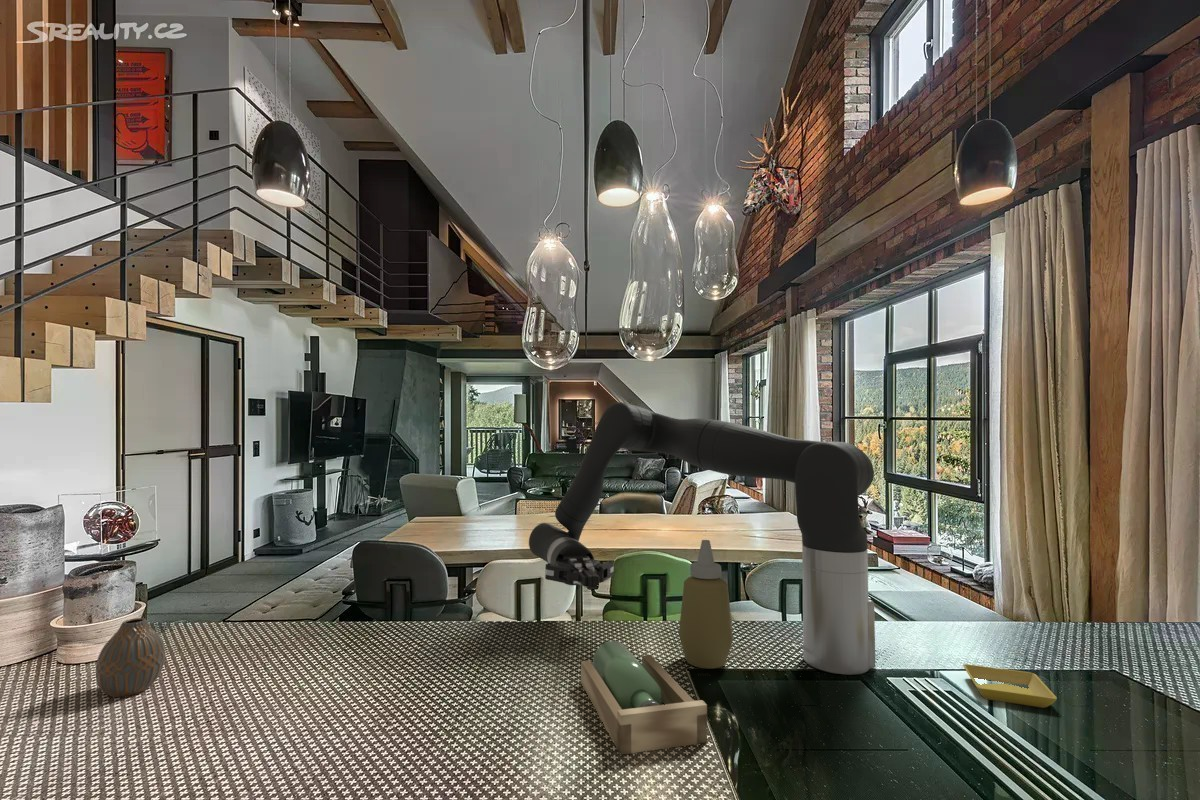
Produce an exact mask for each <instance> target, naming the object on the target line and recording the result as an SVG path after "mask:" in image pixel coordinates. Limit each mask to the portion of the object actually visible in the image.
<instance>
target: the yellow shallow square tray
mask: <svg viewBox="0 0 1200 800" xmlns="http://www.w3.org/2000/svg"><path fill="white" fill-rule="evenodd" d="M962 666H963V668H964V669H965V671H966V673H967V675H968V676H969V677H970V678H969V679H971V681H972V683H973V684H974V687H976V688H977V690H978V692H979V693H980V695H981V697H983V698H984V699H986V700H989V701H997V702H1002V703H1003V702H1004V703H1010V704H1017V705H1024V706H1030V707H1036V708H1043V709H1044V708H1045V709H1046V708H1048V707H1050V706H1051V705H1053V704H1054V703H1055V702H1056V701H1057V700H1058V697H1057V696H1056V695H1055V694H1054V693H1053V692H1052V690H1050V689H1049V687H1048V686H1047V685H1046V684H1045V683H1044V681H1042V679H1041V678H1040V677H1039V676H1038V675H1037V674H1035V673H1033V672H1029V671H1022V670H1015V669H1008V668H1007V669H1005V668H1000V667H999V668H998V667H990V666H982V665H975V664H968V663H967V664H963V665H962ZM974 678H978V679H984V680H985V679H986V680H991V681H997V682H998V681H999V682H1002V683H1003V682H1004V683H1005V684H1002V683H1001V684H998V683H996V684H989V683H988V684H985V683H984V684H982V685H980V684H978V683H977V682H976V681H975V679H974ZM1006 683H1010V685H1008V684H1006ZM1011 683H1014V684H1020V685H1021V684H1022V685H1023V684H1024V685H1028V687H1029V688H1028V689H1027V688H1024V687H1022V688H1021V687H1019V686H1016V685H1015V686H1014V685H1012V684H1011Z"/></svg>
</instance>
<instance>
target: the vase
mask: <svg viewBox="0 0 1200 800" xmlns="http://www.w3.org/2000/svg"><path fill="white" fill-rule="evenodd" d="M165 659H166V649H165V644H164V642H163V639H162V637H161V636H160V635H159V634H158V633H157V632H156V631H155V629H153V627H151V626H150V624H149V623H148V620H147V619H146V618H144V617H135V618H130V619H127V620H124V621H123V622H121V624H120V626H119V628H118V629H117V631H116V632H115V633H114V634H113V635H112V636H111V637H110V639H108V641H106V642H105V644H104V646H103V647H102V648H101V650H100V653H99V655H98V657H97V659H96V664H95V678H96V683H97V685H98V686H97V687H99V689H100V690H101V691H102V692H103V693H104V694H105V695H108V696H109V697H112V698H123V697H129V696H133V695H136V694H139V693H142V692H144V691H146V690H147V689H148V688H150V687H151V686H152V685H153V684H154V683H155V681H157V679H158V678H159V676H160V675H161V673H162V670H163V667H164V665H165Z"/></svg>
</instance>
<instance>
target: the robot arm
mask: <svg viewBox="0 0 1200 800" xmlns="http://www.w3.org/2000/svg"><path fill="white" fill-rule="evenodd" d="M620 449H622V450H628V451H634V452H635V451H636V452H649V453H650V452H651V453H659V454H666V455H670V456H673V457H676V458H678V459H680V460H682V461H683V462H685V463H687V464H689V465H692V466H694V467H698V468H700V469H704V470H707V471H711V472H715V473H720V474H724V475H730V476H738V477H744V478H759V479H771V480H781V481H785V482H789V483H790V482H791V483H793V484H794V486H795V506H796V507H795V508H796V521H797V525H798V528H799V530H800V534H801V543H802V544H801V547H802V548H801V549H802V554H801V555H802V556H801V557H802V562H801V563H802V650H803V653H802V654H803V657H802V659H803V660H804V662H805V663H806V664H808V665H809V666H811V667H813V668H815V669H818V670H820V671H823V672H826V673H831V674H838V675H849V676H851V675H861V674H864V673H868V672H869V670H870V669H871V668H876V630H875V629H876V628H875V627H876V626H875V625H876V624H875V615H876V614H875V602H874V601H873V600H871V599H869V569H868V568H869V567H868V566H869V565H868V564H869V562H868V561H869V560H868V559H869V558H868V556H869V555H868V534H867V531H866V530H865V529H864V527H863V525H862V524H861V520H860V512H859V511H860V510H859V497H860V496H861V495H862V494H864V493H865V492H866V491H867V490H868V489H869V488H870V487H871V485H872V483H873V482H874V478H875V477H874V476H875V470H874V466H873V462H872V461H871V459H870V458H869V456H868V455H867V454H866V453H865V452H864V451H863V450H862V449H860V448H859V447H858V446H856V445H854V444H851V443H848V442H845V441H819V440H811V439H810V440H808V439H807V440H806V439H799V438H792V437H786V436H783V435H781V434H776V433H774V432H769V431H766V430H762V429H760V428H755V427H752V426H747V425H742V424H739V423H734V422H729V421H724V420H719V419H711V418H686V419H682V418H675V417H671V416H668V415H664V414H660V413H658V412H655V411H652V410H650V409H647V408H644V407H641V406H638V405H634V404H631V403H629V402H628V403H627V402H620V401H618V402H617V401H616V402H614V403H611V404H610V405H609V406H608V407H607V408H606V409H605V410H604V412H603V413H602V415H601V417H600V419H599V421H598V424H597V426H596V428H595V431H594V433H593V435H592V438H591V440H590V443H589V445H588V447H587V449H586V453H585V455H584V457H583V459H582V461H581V465H580V467H579V468H578V471H577V473H576V475H575V477H574V479H573V480H572V482H571V484H570V486H569V488H568V489H567V490H566V492H565V494H564V495H563V497H562V499H561V500H560V502H559V504H558V505H557V507H556V509H555V511H554V516H555V518H556V520H557V522H558V523H559V524H561V525H562V527H564V528H565V529H566V530H567V531H565V530H564V529H561V528H559V527H558V526H557V527H556V526H554V525H552V524H551V523H546V522H542V523H539V524H538V525H536V526H535V527H533V529H532V531H531V532H530V534H529V538H528V547H529V550H530V552H531V554H533V555H535V556H536V557H538V558H539V559H541V560H543V561H545V562H546V564H545V571H544V572H545V575H544V578H545V579H544V580H548V581H553V582H557V583H563V584H565V585H567V586H578V585H580V586H582V587H585V588H586V589H587V590H593V589H598V587H599V586H600V584H601V583H604V582H606V581H607V580H609V579H610V578H612V577H614V573H615V572H614V569H615V568H614V567H615V566H614V565H615V561H614V560H608V561H606V562H605V561H603V562H602V563H601V561H600V560H598V559H595V558H594V555H593V552H591V550H590V549H589V548H588V547H587V546H585V545H584V544H583V543H581V542H580V537H581V536H582V532H583V531H584V528H585V526H586V523H587V522H588V521H589V519H590V518H591V516H592V514H593V512H594V511H595V509H596V508H597V506H598V504H599V503H600V500H601V498H602V495H603V489H604V480H605V474H606V470H607V468H608V466H609V463H610V462H611V460H612V459H613V458H614V456H615V455H616V453H617V452H618V451H619V450H620Z"/></svg>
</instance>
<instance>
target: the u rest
mask: <svg viewBox="0 0 1200 800" xmlns="http://www.w3.org/2000/svg"><path fill="white" fill-rule="evenodd" d="M641 656H642V657H641V659H642V660H641V665H642V666H643V667H644V669H645V670H646V671H647V672H648V673H649V675H650V676H651V677H652V678H653V679H654V680H655V682H656V683H657V684H658V686H659V688H660V690H661V695H662V699H661V700H662V701H661V703H662V704H661V705H656V706H648V707H640V708H631V709H623V710H622V709H621V707H620V706H619V704H618V703H617V701H616V700H615V698H614V697H613V695H612V694H611V692H610V691H609V689H608V688H607V686H606V684H605V683H604V681H603V680H602V678H601V677H600V675H599V674H598V672H597V671H596V669H595V668H594V666H593V662H591V660H583V661H580V665H581V666H580V685H581V684H582V685H581V687H582V686H583V687H582V688H584V689H583V691H584V690H585V691H586V693H587V694H586V693H585V694H586V696H587V695H588V696H587V698H588V697H589V698H590V700H591V701H590V700H589V701H590V703H591V702H592V703H591V705H592V704H593V705H592V707H593V706H594V707H595V709H596V710H595V709H594V710H595V712H596V711H597V712H596V714H597V713H598V714H597V715H599V716H598V718H599V720H600V721H601V723H602V722H603V723H602V725H603V724H604V725H603V726H604V728H605V730H606V732H607V734H608V733H609V734H608V736H609V737H610V739H611V741H612V742H613V744H614V746H615V747H616V750H617V752H618V753H619V755H628V754H634V753H635V754H636V753H642V752H649V751H650V752H651V751H657V750H663V749H671V748H672V749H673V748H678V747H683V746H684V747H685V746H691V745H698V744H705V743H708V704H707V703H706V702H705V701H704V700H702V699H700V700H699V699H698V700H694V699H693V698H692V697H691V696H690V694H689V693H687V692H686V690H685V689H683V688H682V687H681V686H680V684H679V683H678V682H677V681H676V680H675V679H674V678H673V676H671V675H670V674H669V673H668V672H667V671H666V669H664V668H663V666H661V664H660V663H659V662H658V661H657V660H656V659H655V658H654V657H653V656H652V655H651V654H645V655H641ZM585 691H584V692H585ZM589 698H588V699H589ZM663 703H664V704H665V705H664V704H663ZM594 707H593V708H594Z"/></svg>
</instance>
